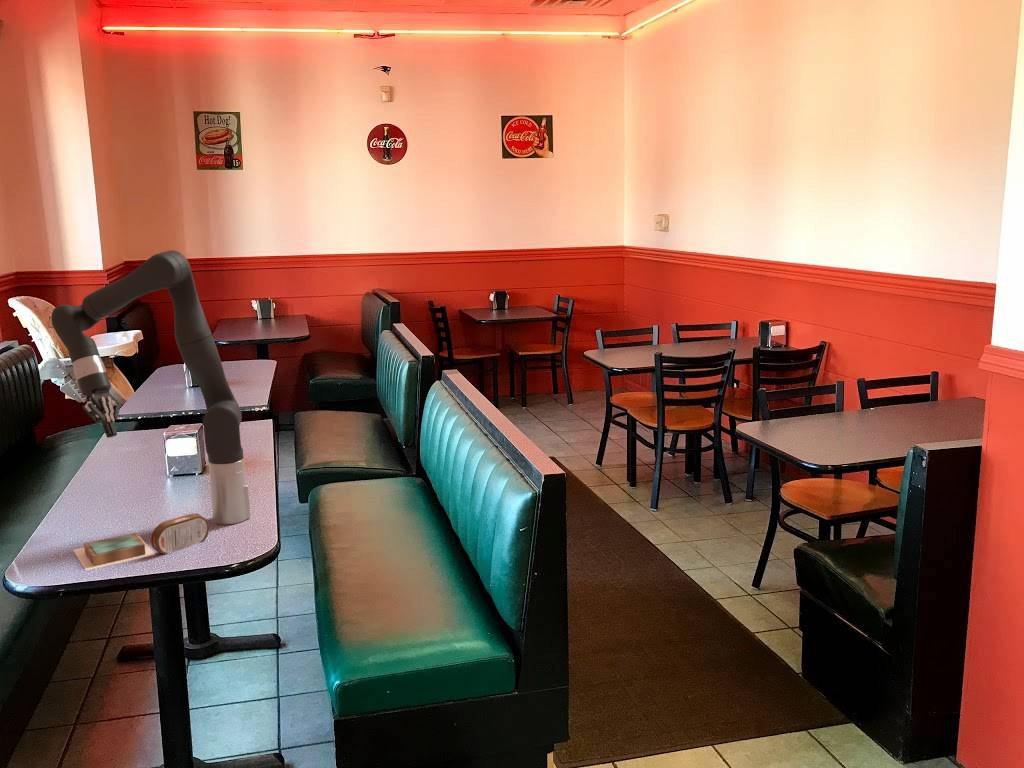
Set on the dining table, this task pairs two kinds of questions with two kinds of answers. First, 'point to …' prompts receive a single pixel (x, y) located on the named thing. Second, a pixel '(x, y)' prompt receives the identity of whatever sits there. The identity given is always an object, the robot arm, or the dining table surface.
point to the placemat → (88, 565)
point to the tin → (179, 533)
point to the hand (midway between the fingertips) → (112, 436)
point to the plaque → (114, 549)
